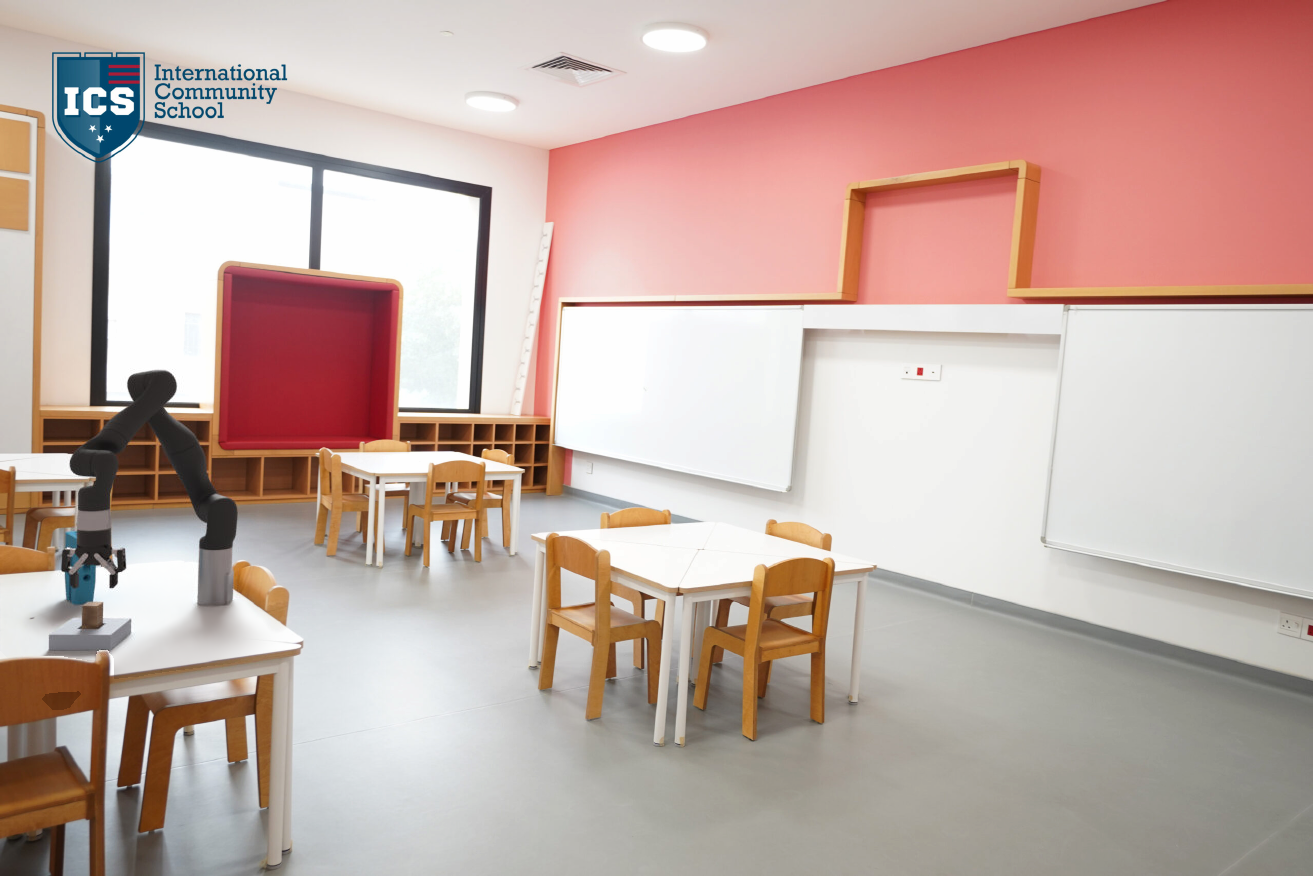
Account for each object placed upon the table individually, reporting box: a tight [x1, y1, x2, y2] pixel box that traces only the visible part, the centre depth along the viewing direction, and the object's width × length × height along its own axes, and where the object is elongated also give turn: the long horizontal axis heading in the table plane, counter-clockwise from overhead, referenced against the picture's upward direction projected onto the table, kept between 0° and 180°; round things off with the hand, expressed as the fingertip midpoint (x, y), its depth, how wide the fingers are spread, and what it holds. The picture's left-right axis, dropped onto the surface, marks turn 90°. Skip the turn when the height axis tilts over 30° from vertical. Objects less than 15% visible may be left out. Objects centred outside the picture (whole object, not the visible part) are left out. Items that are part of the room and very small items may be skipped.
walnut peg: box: [81, 601, 104, 629], centre depth 226 cm, size 4×4×10 cm
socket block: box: [48, 617, 132, 651], centre depth 226 cm, size 14×14×4 cm
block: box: [64, 530, 97, 606], centre depth 258 cm, size 12×5×20 cm, turn 50°
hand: (94, 587), depth 225 cm, fingers open, 8 cm apart
